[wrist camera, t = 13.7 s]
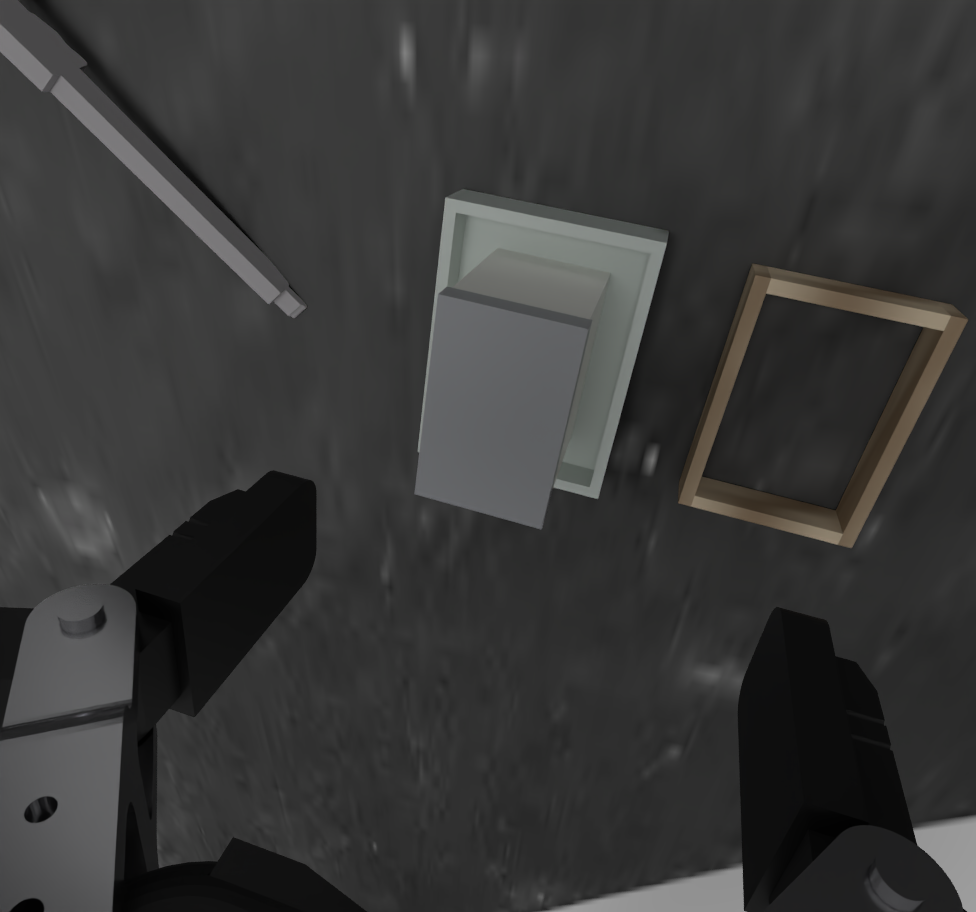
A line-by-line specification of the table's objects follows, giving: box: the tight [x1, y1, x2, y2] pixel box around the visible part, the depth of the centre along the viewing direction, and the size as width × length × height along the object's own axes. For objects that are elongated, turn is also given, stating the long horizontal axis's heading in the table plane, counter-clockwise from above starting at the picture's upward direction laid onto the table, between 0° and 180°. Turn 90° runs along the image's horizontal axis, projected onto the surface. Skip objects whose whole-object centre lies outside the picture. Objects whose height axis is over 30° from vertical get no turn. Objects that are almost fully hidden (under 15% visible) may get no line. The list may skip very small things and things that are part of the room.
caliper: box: [0, 0, 307, 318], centre depth 31 cm, size 20×1×6 cm, turn 38°
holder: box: [678, 263, 968, 548], centre depth 31 cm, size 8×11×2 cm
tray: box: [418, 189, 669, 499], centre depth 32 cm, size 9×12×2 cm
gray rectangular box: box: [415, 248, 611, 529], centre depth 29 cm, size 5×8×8 cm, turn 170°
